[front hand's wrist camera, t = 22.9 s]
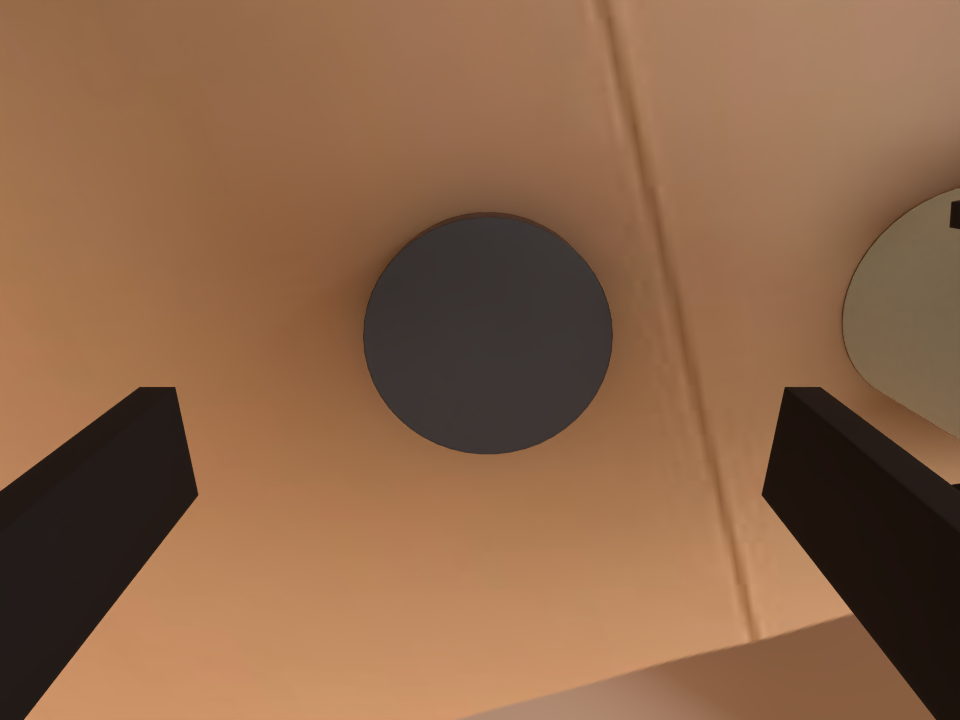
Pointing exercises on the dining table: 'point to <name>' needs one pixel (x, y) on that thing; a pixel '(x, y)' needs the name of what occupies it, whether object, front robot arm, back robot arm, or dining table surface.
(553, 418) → the lid
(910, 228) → the jar
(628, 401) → the dining table surface
